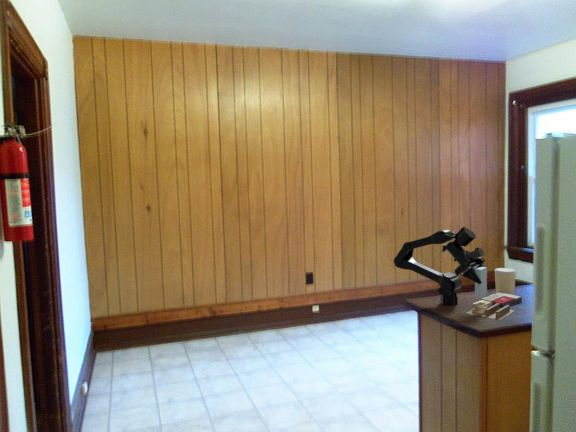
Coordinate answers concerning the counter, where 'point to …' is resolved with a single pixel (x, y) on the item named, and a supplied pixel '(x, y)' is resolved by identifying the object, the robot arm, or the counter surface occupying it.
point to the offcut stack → (481, 306)
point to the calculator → (503, 299)
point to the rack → (494, 312)
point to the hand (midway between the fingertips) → (484, 281)
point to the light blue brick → (481, 288)
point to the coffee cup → (505, 280)
